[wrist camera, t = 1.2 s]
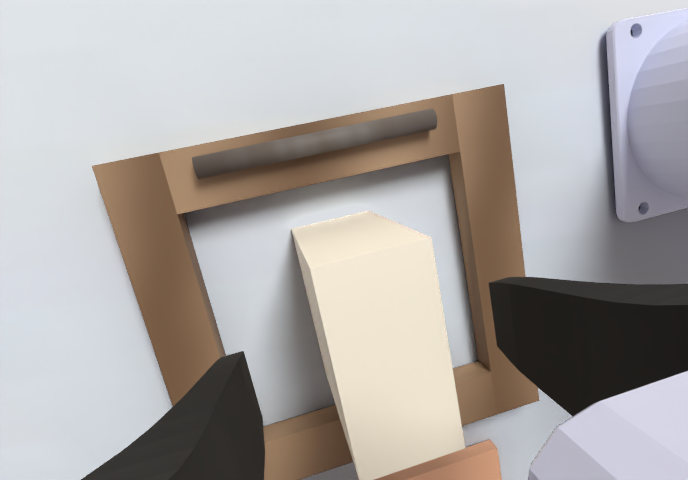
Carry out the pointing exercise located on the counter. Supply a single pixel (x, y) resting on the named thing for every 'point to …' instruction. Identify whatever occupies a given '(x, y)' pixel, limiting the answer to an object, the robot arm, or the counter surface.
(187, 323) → the wooden picture frame
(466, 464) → the peach rectangular tile
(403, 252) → the cream upright block
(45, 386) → the counter surface
